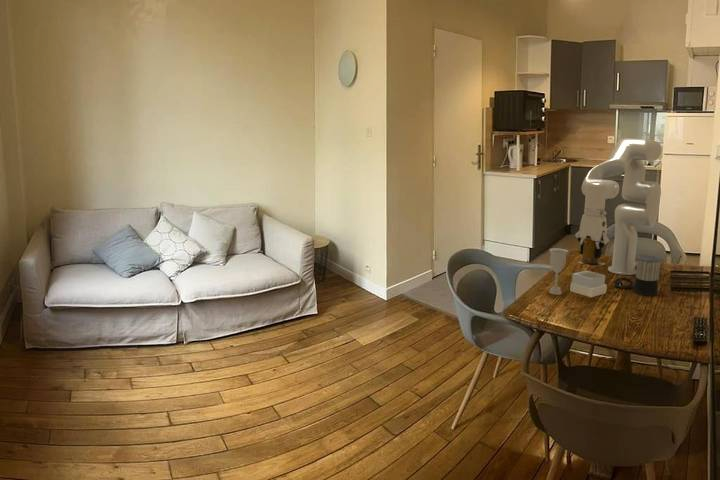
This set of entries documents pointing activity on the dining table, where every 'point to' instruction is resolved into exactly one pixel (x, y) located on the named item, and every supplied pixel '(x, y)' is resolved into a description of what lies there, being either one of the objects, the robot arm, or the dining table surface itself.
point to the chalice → (557, 266)
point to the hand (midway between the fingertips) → (590, 255)
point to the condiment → (590, 253)
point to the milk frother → (644, 276)
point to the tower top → (588, 279)
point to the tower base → (588, 290)
